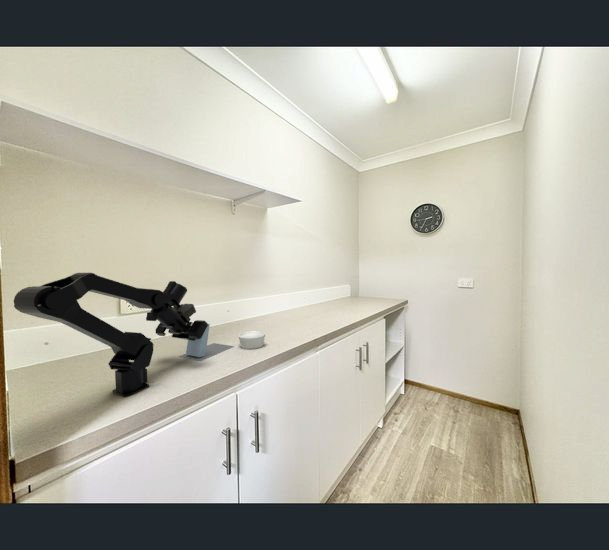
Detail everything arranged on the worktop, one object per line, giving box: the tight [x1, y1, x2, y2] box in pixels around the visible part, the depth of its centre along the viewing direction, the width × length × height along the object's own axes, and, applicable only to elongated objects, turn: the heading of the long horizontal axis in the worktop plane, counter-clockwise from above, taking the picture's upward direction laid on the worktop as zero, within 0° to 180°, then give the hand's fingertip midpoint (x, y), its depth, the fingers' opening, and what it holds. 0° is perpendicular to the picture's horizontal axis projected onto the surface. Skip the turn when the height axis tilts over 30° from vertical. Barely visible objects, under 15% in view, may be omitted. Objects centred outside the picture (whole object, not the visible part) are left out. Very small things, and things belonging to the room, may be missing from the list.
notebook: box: [185, 323, 211, 357], centre depth 94 cm, size 3×7×12 cm, turn 65°
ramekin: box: [238, 330, 266, 350], centre depth 105 cm, size 11×11×5 cm
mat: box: [177, 342, 235, 362], centre depth 98 cm, size 18×12×1 cm, turn 155°
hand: (194, 339), depth 92 cm, fingers closed
